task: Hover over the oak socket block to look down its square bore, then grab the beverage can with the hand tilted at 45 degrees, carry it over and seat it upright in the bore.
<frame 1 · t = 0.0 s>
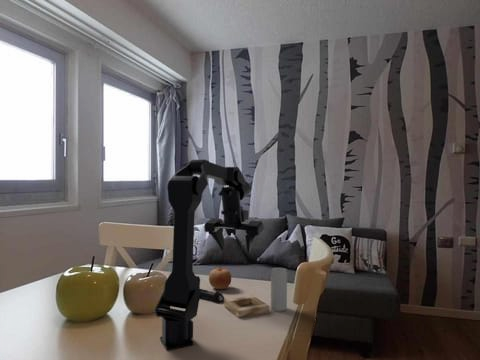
hand: (235, 251, 117), 15 cm above the table, tool pointing down, fingers open, 9 cm apart
beverage can: (278, 309, 108), on the table
apple: (219, 289, 128), on the table
electric trimmer: (203, 299, 118), on the table
socket block: (246, 309, 108), on the table
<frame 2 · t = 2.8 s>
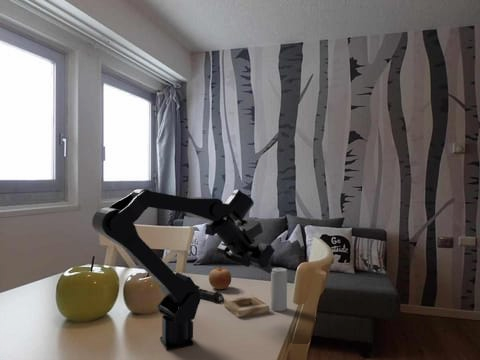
hand: (259, 268, 103), 13 cm above the table, tool tilted 45°, fingers open, 9 cm apart
nothing on the table moved.
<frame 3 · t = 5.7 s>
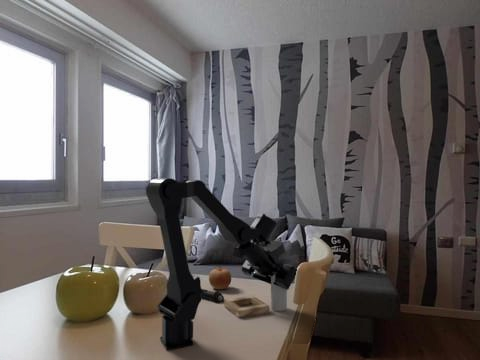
hand: (282, 286, 109), 7 cm above the table, tool tilted 45°, fingers closed on beverage can, 5 cm apart
beverage can: (278, 309, 108), on the table, touching gripper
everything else where it was.
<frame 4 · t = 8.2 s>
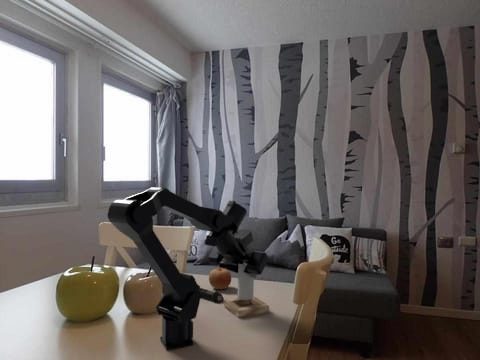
hand: (248, 275, 109), 10 cm above the table, tool tilted 45°, fingers closed on beverage can, 5 cm apart
beverage can: (245, 298, 108), point 3 cm above the table, touching gripper
when the fingers open (8 cm above the table, at t = 9.1 s): beverage can stays where it is, resting on socket block.
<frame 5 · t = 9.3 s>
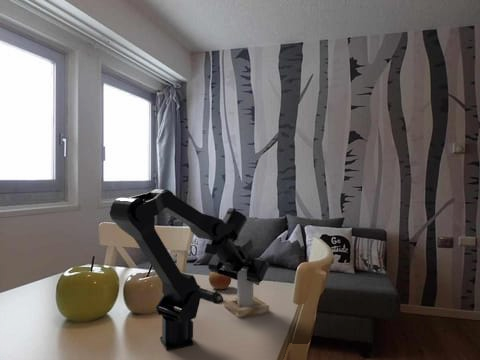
hand: (249, 281, 109), 8 cm above the table, tool tilted 45°, fingers open, 7 cm apart
beverage can: (245, 308, 108), resting on socket block
everything else where it was.
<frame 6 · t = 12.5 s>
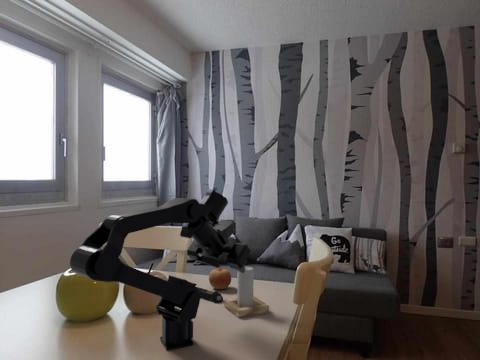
hand: (231, 269, 102), 14 cm above the table, tool tilted 45°, fingers open, 9 cm apart
nothing on the table moved.
at the end: beverage can 0.2 cm off-centre on the socket block, point 0.1 cm above the socket block's base; beverage can tilted 0°; the gripper is holding nothing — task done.
